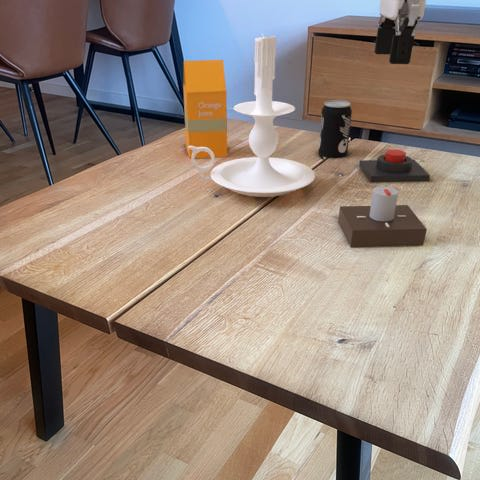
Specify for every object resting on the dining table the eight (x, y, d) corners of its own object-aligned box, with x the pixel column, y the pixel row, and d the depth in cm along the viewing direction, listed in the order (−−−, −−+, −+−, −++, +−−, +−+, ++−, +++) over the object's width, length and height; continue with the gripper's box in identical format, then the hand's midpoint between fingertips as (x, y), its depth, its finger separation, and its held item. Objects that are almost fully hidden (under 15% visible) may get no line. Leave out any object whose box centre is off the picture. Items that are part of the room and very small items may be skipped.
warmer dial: (366, 212, 94) (370, 184, 91) (390, 211, 94) (394, 184, 91) (372, 221, 90) (376, 193, 88) (396, 221, 91) (401, 193, 88)
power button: (401, 157, 116) (402, 149, 115) (407, 163, 113) (408, 155, 112) (382, 157, 116) (383, 149, 115) (387, 164, 113) (389, 155, 112)
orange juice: (186, 148, 133) (181, 57, 122) (222, 146, 134) (221, 56, 123) (189, 159, 127) (185, 64, 116) (227, 156, 128) (226, 62, 117)
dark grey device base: (412, 169, 121) (415, 151, 119) (427, 185, 113) (431, 166, 111) (358, 170, 121) (360, 152, 118) (369, 186, 112) (372, 167, 110)
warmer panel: (404, 220, 98) (407, 203, 97) (423, 245, 90) (427, 227, 88) (338, 222, 98) (339, 205, 96) (350, 247, 89) (352, 229, 88)
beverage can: (330, 163, 124) (336, 108, 117) (312, 156, 129) (316, 102, 122) (352, 158, 127) (359, 104, 120) (333, 151, 132) (338, 98, 125)
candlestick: (192, 172, 119) (185, 26, 104) (306, 171, 120) (317, 25, 104) (187, 209, 102) (178, 41, 87) (320, 208, 103) (335, 40, 87)
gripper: (456, -68, 75) (429, 68, 85) (418, -65, 90) (399, 51, 99) (401, -69, 75) (381, 67, 85) (372, -67, 90) (357, 50, 99)
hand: (391, 58), depth 92 cm, fingers open, 9 cm apart
